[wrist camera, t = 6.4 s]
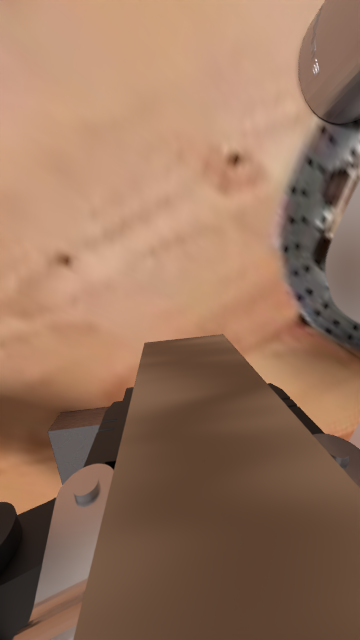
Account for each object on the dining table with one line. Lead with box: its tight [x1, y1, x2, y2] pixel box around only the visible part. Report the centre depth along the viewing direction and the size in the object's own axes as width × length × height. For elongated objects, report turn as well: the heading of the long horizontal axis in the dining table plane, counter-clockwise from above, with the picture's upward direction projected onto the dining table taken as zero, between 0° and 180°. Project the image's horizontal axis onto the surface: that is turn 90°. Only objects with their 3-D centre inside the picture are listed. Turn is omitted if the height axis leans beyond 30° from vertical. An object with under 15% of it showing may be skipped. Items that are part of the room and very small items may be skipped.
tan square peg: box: [73, 334, 360, 640], centre depth 7 cm, size 4×4×10 cm
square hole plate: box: [48, 407, 109, 485], centre depth 26 cm, size 16×16×3 cm
